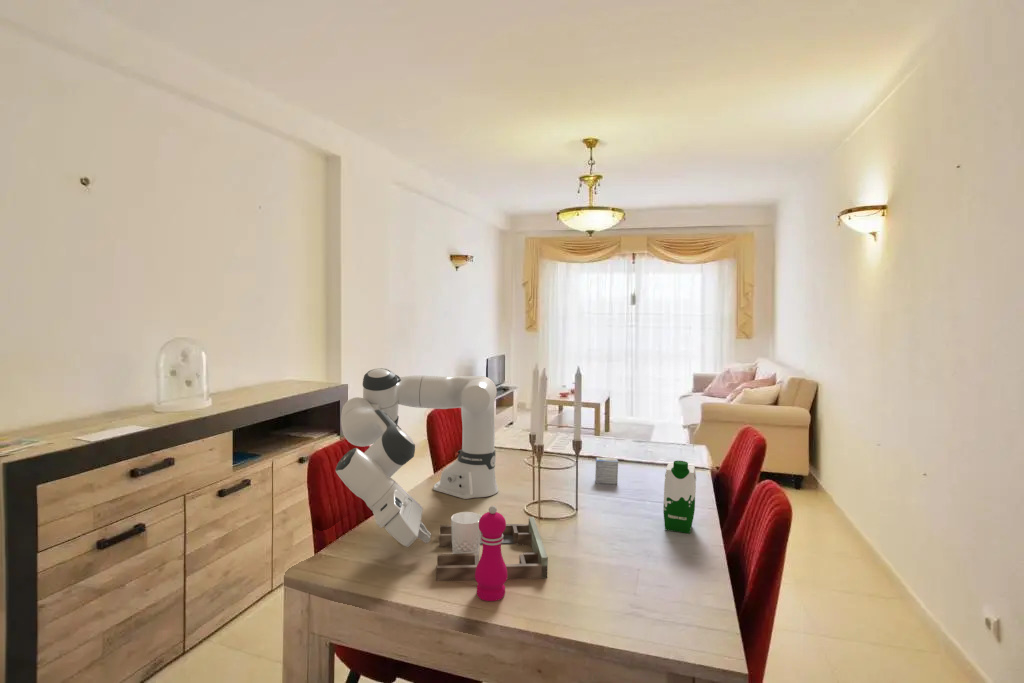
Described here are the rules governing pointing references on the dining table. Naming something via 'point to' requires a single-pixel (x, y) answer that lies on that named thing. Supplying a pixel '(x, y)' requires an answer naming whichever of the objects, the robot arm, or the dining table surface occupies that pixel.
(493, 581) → the pepper mill
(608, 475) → the medicine box
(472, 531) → the white cup
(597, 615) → the dining table surface
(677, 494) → the milk carton
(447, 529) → the organizer tray
